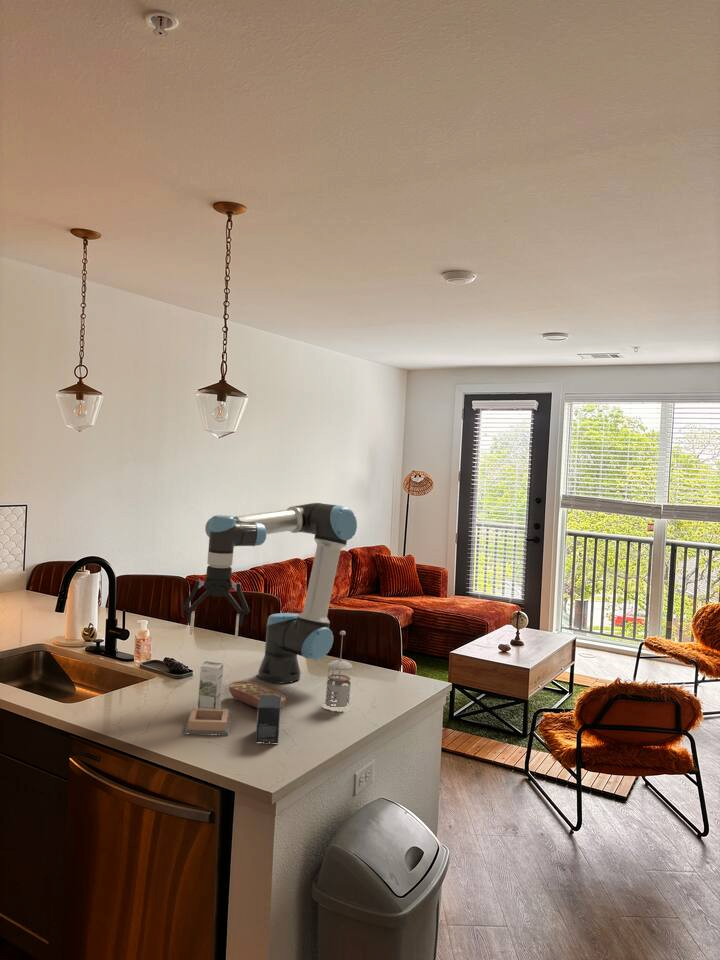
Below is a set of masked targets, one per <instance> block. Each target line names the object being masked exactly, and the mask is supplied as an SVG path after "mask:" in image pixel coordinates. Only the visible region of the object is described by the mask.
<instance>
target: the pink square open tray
mask: <svg viewBox="0 0 720 960" xmlns="http://www.w3.org/2000/svg"><path fill="white" fill-rule="evenodd" d="M231 717H232V716H229V709H226V708H225V709H223V708H222V709H221V708H220V709H199V708H198V707H197V708H196V707H194V708H192V709H191V713H190V715H189V717H188V720H187V723H186V726H185V729H184V734H185V733H189V734H214V735H213V736H220V735H228V736H229V733H228V732H229V731H230V727H231V726H230V725H231ZM215 734H217V735H215ZM219 734H220V735H219Z"/></svg>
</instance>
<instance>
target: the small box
mask: <svg viewBox="0 0 720 960" xmlns="http://www.w3.org/2000/svg"><path fill="white" fill-rule="evenodd" d="M280 707H281V696H275V695H260V700H259V706H258V708H257V714H256V715H257V716H256V729H255V731H256V732H255V743H256V742H262V743H263V742H264V743H269V742H270V743H278V744H279V739H280V738H279V736H280V723H281V722H280V721H281V720H280V719H281V710H280ZM278 738H279V739H278Z"/></svg>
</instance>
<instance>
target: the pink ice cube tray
mask: <svg viewBox="0 0 720 960" xmlns="http://www.w3.org/2000/svg"><path fill="white" fill-rule="evenodd" d="M228 686H229V687H228V689H229V692H230V695H231V696H232V698H233V699H234V700H236V701H238V702H242V703H244V704H247V705H249V706H252V707H254V708H256V709H258V706H259V700H260V695H275V696H281V707H280V711H281V710H282V708H283V707H284V706H285V704H286V696H285V695H283V694H282V693H280V692H278V691H276V690H275V689H272V688H270V687H268V686H265V685H262V684H259V683H256V682H252V681H245V680H244V681H243V680H239V681H233V682H231V683H229V685H228Z"/></svg>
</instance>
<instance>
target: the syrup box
mask: <svg viewBox="0 0 720 960" xmlns="http://www.w3.org/2000/svg"><path fill="white" fill-rule="evenodd" d="M199 673H200V674H199V686H198V700H197V701H198V702H197V708H199V709H221V702H222V701H221V699H222V685H223V674H224V662H217V661H216V662H215V661H208V660H206V661H205V662H203V663H202V664H201V665H200V672H199Z"/></svg>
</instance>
